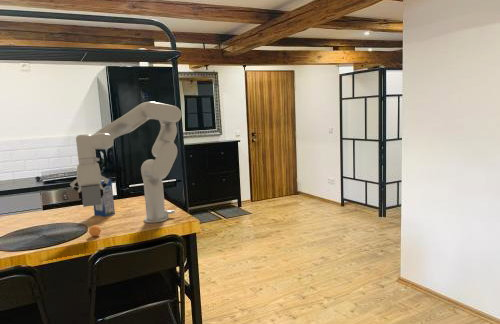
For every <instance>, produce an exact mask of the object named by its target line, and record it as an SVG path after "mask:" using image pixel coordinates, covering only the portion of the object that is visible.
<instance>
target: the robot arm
mask: <svg viewBox="0 0 500 324" xmlns="http://www.w3.org/2000/svg"><path fill="white" fill-rule="evenodd" d="M182 115H183V114H182V111H181V109H180V108H179V107H178V106H176V105H172V104H168V103H167V104H166V103H162V102H156V101H145V102H142V103H140V104H138V105H137V106H135V107H133V108H132V109H130V110H129V111H128V112H126V113H125V114H124V115H122V116H121V117H119V118H117V119H115V120H113V121H112V122H110V123H108V124H107V125H105V126H103V127H102V128H100V129H99V130H97V131H96V132H94V134H90V133H89V134H78V135H77V136H76V138H75V143H76V151H77V160H78V161H77V162H78V164H77V166H76V179H74V180H73V181H72V182H71V183H69V186H70V187H72V189H74V191H75V192H77V194H78V199H79V200H80V201H81V202H83V198H82V191H81V187H86V186H94V185H100V192H101V198H102V196H104V194H103V189H104V187H105V186H106V185H107V183H108V182H109V179H110V178H107V177H105V176H103V175H102V174H101V168H100V164H99V163H98V162H99V161H100V160H101V159H100V157H97V155H96V153H97V152H96V150H107V149H110V148H111V147H112V146H113V144H114V141H115V139H117V138H119V137H121V136H123V135H126V134H129V133H131V132H133V131H135V130H136V129H137V128H138V127H140V126H141V125H143V124H145V123H146V122H147V121H149V120H156V121H158V122H159V124H160V130H159V133H158V135H157V137H156V139H155V142H154V144H153V145H152V148H151V154H152V156H153V157H155V159H152V158H151V159H146V160H145V161H143V162H142V165H141V167H140V172H141V177H142V181H143V191H144V203H145V212H146V217H144V218H143V221H144V223H147V224H149V223H150V224H153V223H154V224H155V223H162V222H165V221H167V220H169V218H170V217H169V215H172V214H175V213H176V212H175V210H174V209H169V210H167V209H166V205H165V195H164V194H165V193H164V183H163V180H164V179H166V178H167V176H168V175H169V173H170V171H171V169H172V167H173V164H175V160H176V159H177V157H178V147H177V145H176V143H175V139H176V136H177V133H178V127H177V124H176V123H178V122H179V121H180V120H181V118H182ZM102 179H103V180H105V182H104V184H103V185H101V183H102ZM75 184H77V185H78V187H77V186H76V185H75Z"/></svg>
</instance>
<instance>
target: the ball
mask: <svg viewBox="0 0 500 324" xmlns="http://www.w3.org/2000/svg"><path fill="white" fill-rule="evenodd" d="M88 233H89V235H90V236H91V237H98V236H99V235H100V234H101V233H102V229H101V227H100V226H99V225H96V224H95V225H92V226H91V227H90V228H89V230H88Z"/></svg>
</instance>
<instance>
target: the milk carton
mask: <svg viewBox="0 0 500 324" xmlns="http://www.w3.org/2000/svg"><path fill="white" fill-rule="evenodd" d="M108 179H109V182H108V183H107V185H106V186H105V187H104V189H103V194H104V196H102V198H101V202H102V204H100V205H93V214H94V216H96V217H97V216H99V217H104V218H107V217H110V216H113V215H115V214H116V212H115V202H114V193H113V184H112V183H113V181H112V179H110V178H108ZM104 182H105V180H103V179H102V183H101V185H103V184H104Z"/></svg>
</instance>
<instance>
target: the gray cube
mask: <svg viewBox="0 0 500 324" xmlns="http://www.w3.org/2000/svg"><path fill="white" fill-rule="evenodd" d="M81 192H82V198H83V200H82V206H83V208H85V207H92V206H93V207H94V205H100V204H102V202H101V192H100V185H94V186H86V187H81Z"/></svg>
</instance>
